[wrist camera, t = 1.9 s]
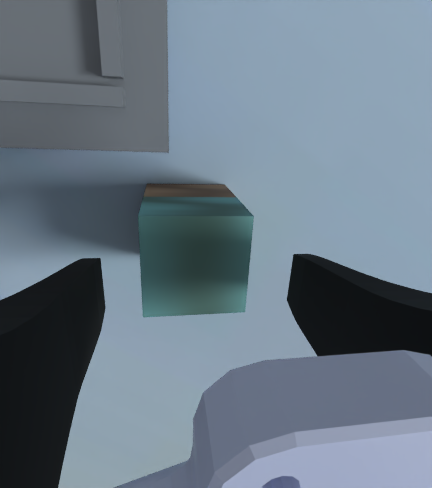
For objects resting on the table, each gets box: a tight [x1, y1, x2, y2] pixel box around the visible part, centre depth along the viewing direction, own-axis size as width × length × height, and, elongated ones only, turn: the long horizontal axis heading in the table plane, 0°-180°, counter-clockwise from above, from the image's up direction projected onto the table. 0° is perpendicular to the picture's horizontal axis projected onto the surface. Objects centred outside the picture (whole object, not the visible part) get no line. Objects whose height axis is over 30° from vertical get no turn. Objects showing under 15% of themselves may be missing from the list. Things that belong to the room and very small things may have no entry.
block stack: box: [138, 184, 254, 317], centre depth 16 cm, size 4×4×6 cm
